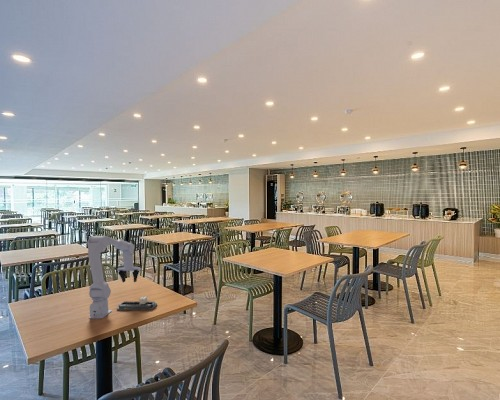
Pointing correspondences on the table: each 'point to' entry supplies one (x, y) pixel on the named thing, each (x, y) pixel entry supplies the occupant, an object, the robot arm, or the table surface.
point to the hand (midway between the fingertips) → (129, 281)
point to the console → (136, 306)
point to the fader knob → (143, 300)
